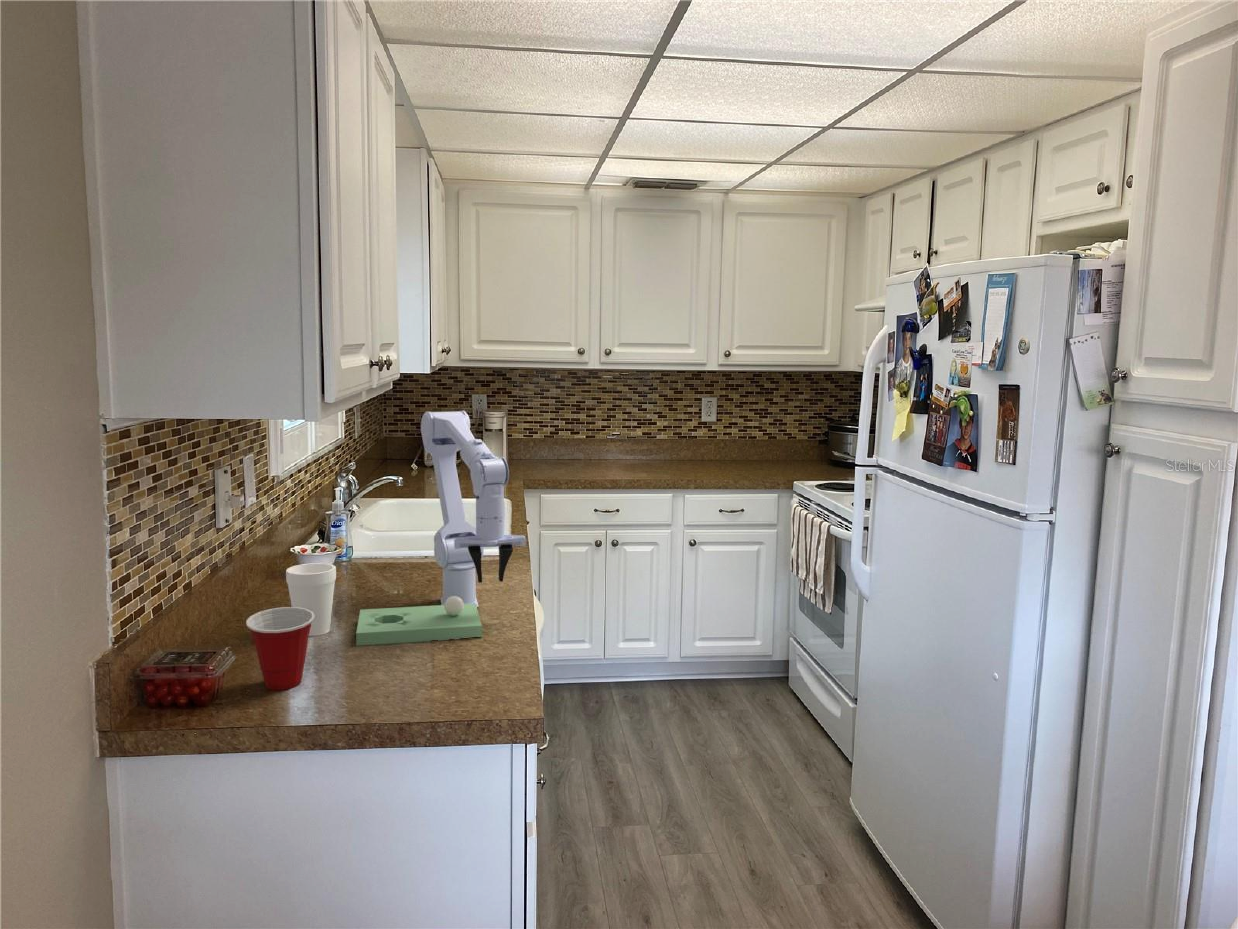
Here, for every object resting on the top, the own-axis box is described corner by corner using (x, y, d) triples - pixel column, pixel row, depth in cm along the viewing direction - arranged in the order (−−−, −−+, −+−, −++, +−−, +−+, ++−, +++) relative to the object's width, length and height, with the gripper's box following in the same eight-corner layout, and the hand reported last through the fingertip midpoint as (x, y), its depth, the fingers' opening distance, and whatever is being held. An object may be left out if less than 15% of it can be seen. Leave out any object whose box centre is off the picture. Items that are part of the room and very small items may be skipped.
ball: (443, 613, 181) (443, 594, 181) (463, 612, 182) (463, 593, 182) (444, 618, 177) (444, 599, 177) (464, 617, 178) (464, 598, 178)
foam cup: (321, 621, 183) (319, 560, 181) (346, 630, 177) (345, 568, 175) (279, 632, 175) (276, 569, 174) (304, 642, 170) (302, 577, 168)
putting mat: (360, 621, 183) (360, 609, 183) (475, 614, 189) (475, 603, 188) (356, 645, 168) (356, 633, 167) (481, 637, 173) (481, 625, 173)
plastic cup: (244, 699, 141) (240, 628, 140) (253, 676, 152) (250, 609, 150) (314, 693, 144) (312, 623, 143) (319, 670, 154) (316, 605, 153)
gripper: (455, 521, 173) (456, 587, 175) (527, 518, 177) (527, 584, 178) (453, 515, 180) (454, 579, 182) (523, 512, 183) (523, 575, 185)
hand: (490, 581), depth 181 cm, fingers open, 4 cm apart
